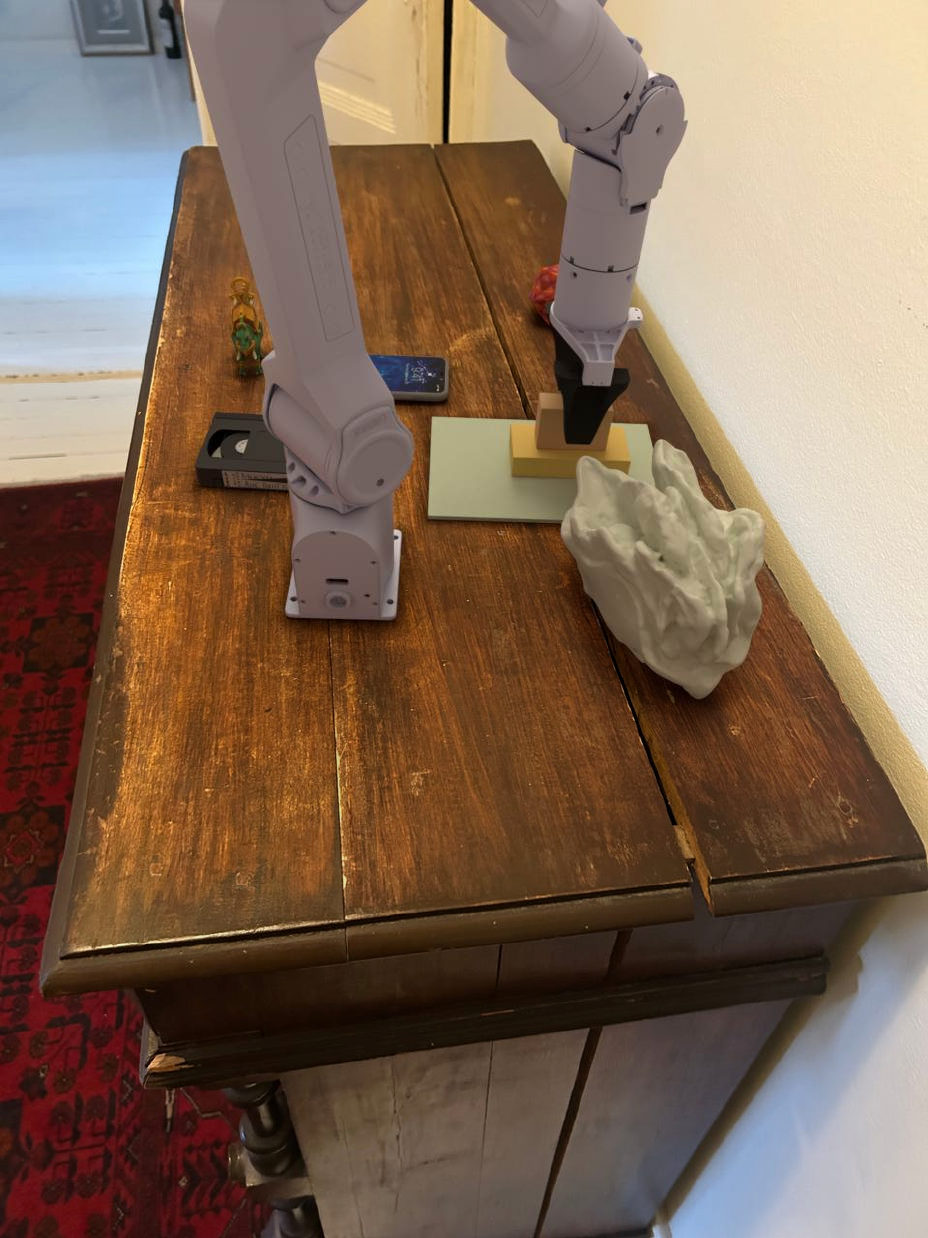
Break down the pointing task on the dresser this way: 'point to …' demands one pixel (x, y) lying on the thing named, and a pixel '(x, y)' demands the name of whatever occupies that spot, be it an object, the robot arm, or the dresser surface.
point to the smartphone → (414, 376)
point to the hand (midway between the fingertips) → (573, 414)
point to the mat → (505, 473)
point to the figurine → (245, 325)
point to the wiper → (562, 444)
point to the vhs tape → (241, 454)
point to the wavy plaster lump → (668, 567)
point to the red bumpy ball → (544, 289)
